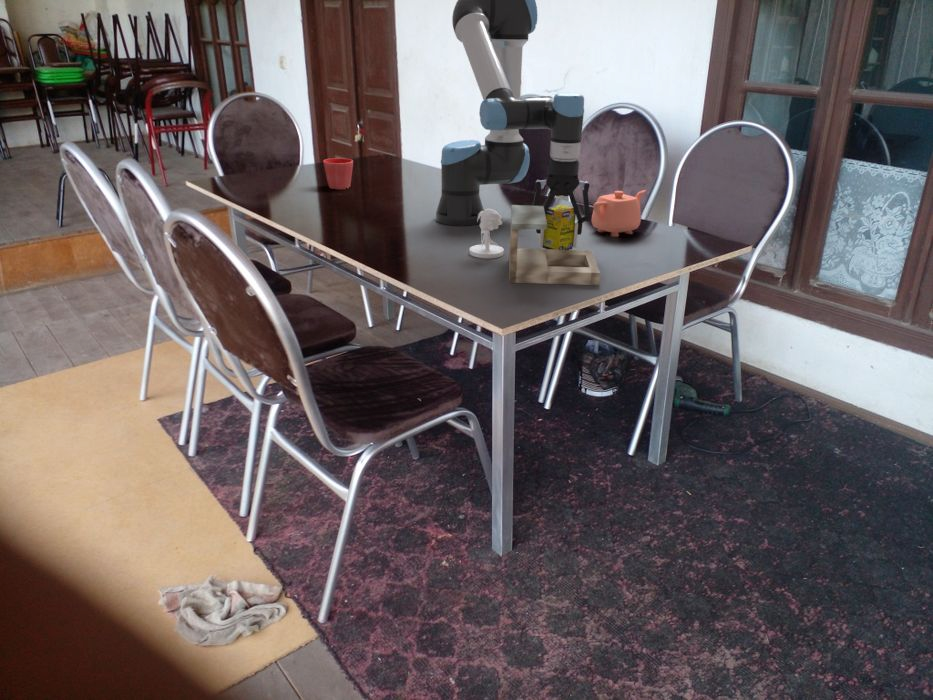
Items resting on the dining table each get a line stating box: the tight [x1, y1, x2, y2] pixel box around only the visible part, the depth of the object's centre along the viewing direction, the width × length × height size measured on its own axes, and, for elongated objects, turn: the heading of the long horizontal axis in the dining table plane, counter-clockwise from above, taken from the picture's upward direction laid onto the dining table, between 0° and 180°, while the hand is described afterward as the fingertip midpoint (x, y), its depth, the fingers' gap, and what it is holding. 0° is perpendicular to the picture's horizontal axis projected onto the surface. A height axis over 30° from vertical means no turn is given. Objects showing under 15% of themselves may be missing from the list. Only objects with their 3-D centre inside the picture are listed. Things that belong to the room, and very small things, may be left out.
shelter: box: [508, 204, 601, 286], centre depth 171 cm, size 21×18×14 cm
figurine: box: [468, 208, 505, 259], centre depth 184 cm, size 9×9×12 cm
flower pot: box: [322, 157, 354, 190], centre depth 257 cm, size 11×11×10 cm
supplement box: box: [541, 204, 576, 250], centre depth 185 cm, size 6×6×11 cm
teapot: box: [591, 189, 647, 238], centre depth 206 cm, size 20×12×12 cm, turn 124°
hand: (557, 245), depth 187 cm, fingers closed on supplement box, 8 cm apart
